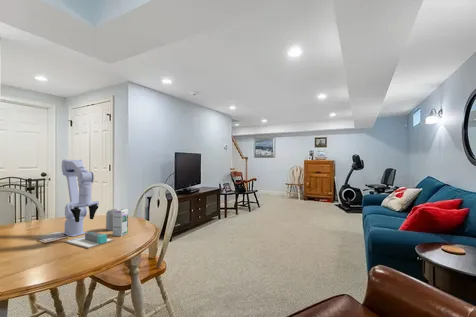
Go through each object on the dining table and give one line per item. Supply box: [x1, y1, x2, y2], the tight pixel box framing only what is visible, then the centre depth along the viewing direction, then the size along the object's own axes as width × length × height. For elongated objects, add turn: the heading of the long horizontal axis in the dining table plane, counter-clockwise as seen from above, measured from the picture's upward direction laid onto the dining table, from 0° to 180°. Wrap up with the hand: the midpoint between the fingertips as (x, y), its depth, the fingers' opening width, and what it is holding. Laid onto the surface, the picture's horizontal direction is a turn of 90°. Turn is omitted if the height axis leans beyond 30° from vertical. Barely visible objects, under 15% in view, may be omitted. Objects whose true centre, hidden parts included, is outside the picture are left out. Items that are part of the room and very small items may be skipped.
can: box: [105, 208, 117, 232], centre depth 153 cm, size 8×8×12 cm
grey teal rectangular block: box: [84, 231, 108, 244], centre depth 129 cm, size 12×4×4 cm, turn 64°
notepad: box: [64, 235, 115, 250], centre depth 129 cm, size 19×14×1 cm
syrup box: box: [112, 208, 129, 237], centre depth 143 cm, size 6×6×14 cm
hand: (84, 220), depth 132 cm, fingers open, 7 cm apart
